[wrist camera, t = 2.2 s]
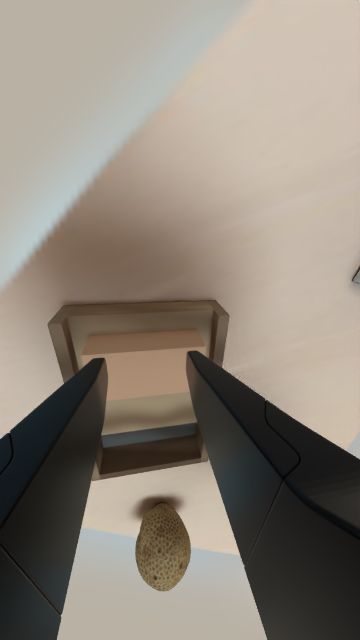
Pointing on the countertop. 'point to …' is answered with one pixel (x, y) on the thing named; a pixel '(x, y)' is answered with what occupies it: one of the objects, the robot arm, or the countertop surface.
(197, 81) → the countertop surface
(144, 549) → the natural sponge
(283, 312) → the countertop surface
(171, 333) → the block
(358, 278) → the medicine box
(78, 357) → the trap lane
